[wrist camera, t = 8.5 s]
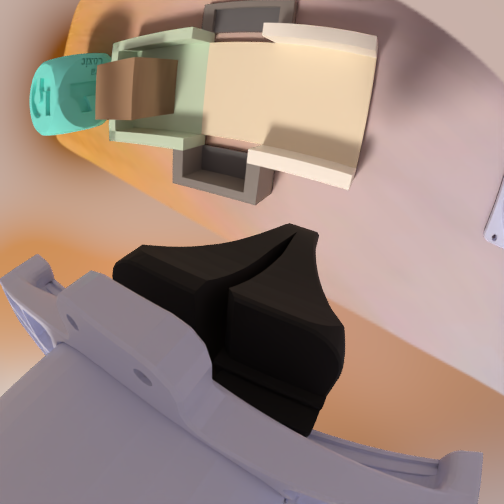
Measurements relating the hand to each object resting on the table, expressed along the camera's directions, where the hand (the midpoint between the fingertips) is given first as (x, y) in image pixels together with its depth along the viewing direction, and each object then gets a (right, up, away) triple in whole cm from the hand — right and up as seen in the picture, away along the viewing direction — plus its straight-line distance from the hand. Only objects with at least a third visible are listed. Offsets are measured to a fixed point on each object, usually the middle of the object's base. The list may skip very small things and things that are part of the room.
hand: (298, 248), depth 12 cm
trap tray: (-4, +12, +7) cm, 15 cm away
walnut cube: (-11, +15, +9) cm, 20 cm away
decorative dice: (-19, +19, +13) cm, 30 cm away
